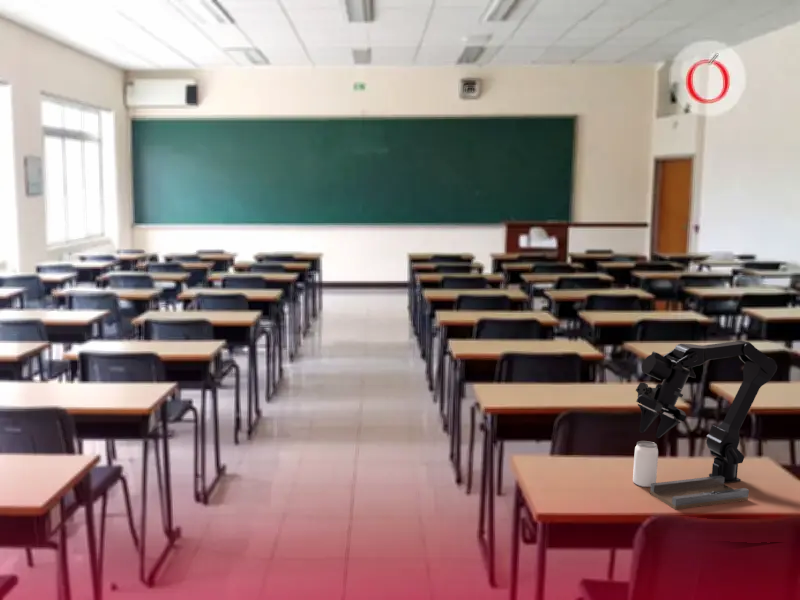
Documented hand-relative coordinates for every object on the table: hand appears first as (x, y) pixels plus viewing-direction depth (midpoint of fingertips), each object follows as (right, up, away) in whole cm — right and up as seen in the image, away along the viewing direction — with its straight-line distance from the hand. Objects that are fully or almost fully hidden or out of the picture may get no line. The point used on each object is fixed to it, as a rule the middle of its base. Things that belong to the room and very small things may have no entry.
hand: (649, 434), depth 217 cm
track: (+12, -16, -6) cm, 21 cm away
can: (-1, -15, +3) cm, 15 cm away
